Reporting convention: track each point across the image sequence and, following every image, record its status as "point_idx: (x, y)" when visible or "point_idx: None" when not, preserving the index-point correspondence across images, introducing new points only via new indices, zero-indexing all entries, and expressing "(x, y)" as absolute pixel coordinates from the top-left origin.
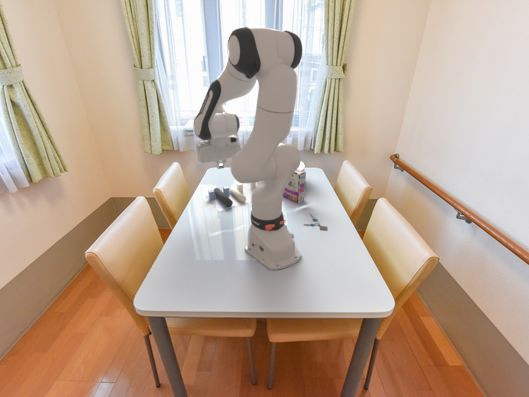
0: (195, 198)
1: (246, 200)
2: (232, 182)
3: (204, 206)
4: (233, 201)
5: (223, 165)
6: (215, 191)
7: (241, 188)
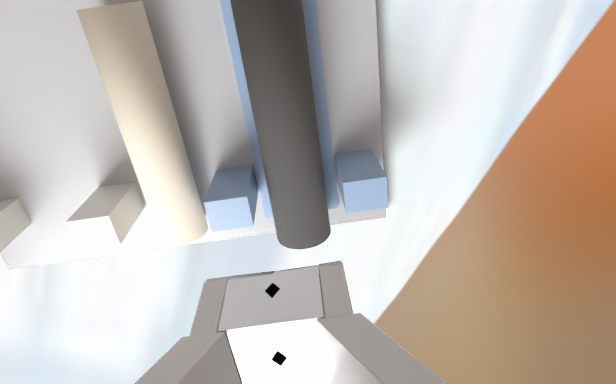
0: (442, 229)
1: None
2: (156, 346)
3: (430, 97)
4: (206, 58)
5: (212, 316)
6: (322, 206)
7: (97, 200)
